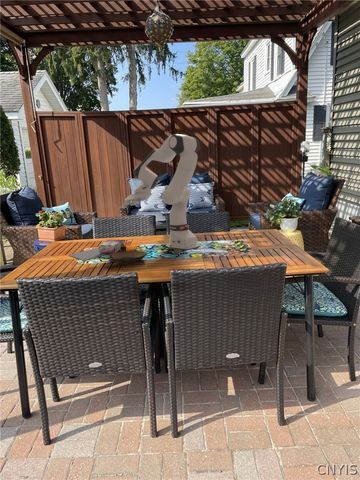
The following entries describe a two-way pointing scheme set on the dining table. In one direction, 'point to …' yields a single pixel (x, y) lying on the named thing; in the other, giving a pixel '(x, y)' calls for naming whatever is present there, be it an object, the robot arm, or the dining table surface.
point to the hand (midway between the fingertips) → (131, 204)
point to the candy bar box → (110, 246)
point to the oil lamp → (126, 255)
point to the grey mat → (89, 254)
